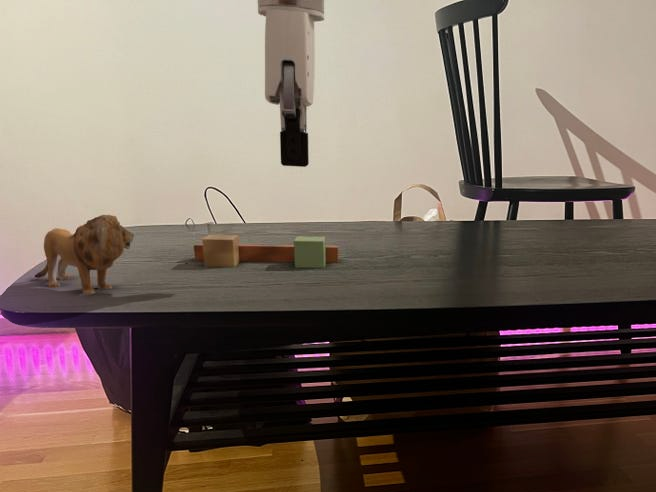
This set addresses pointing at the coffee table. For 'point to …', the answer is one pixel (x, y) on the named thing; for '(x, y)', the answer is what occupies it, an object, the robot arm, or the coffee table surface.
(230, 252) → the maple block
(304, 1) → the robot arm
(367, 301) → the coffee table surface
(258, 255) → the rail
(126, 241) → the lion figurine
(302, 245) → the sage block
